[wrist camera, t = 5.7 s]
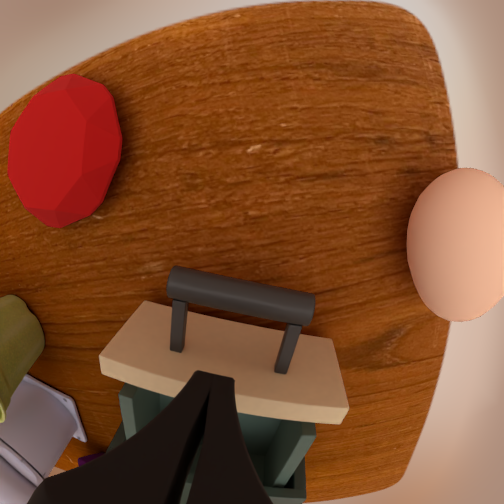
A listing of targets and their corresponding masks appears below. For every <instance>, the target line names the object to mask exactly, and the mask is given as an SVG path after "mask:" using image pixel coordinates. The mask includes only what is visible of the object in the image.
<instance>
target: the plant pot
mask: <svg viewBox="0 0 504 504" xmlns="http://www.w3.org/2000/svg"><path fill="white" fill-rule="evenodd" d="M44 345H45V339H44V334H43V331H42V328H41V325H40V323H39V321H38V319H37V318H36V316H34V315H33V314H32V313H31V312H30V311H29V310H28V308H27V306H26V303H25V302H24V301H23V300H22V299H20V298H19V297H17V296H15V295H6V296H4V297H1V298H0V423H3V422H4V421H5V420H6V410H7V408H8V406H9V404H10V402H11V397H12V395H13V393H14V392H15V390H16V389H17V387H18V386H19V384H20V383H21V381H22V380H23V378H24V377H25V375H26V374H27V372H28V371H29V369H30V368H31V366H32V365H33V364H34V362H35V361H36V360H37V358H38V357H39V355H40V354H41V353H42V351H43V349H44Z"/></svg>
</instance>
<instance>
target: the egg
mask: <svg viewBox="0 0 504 504" xmlns="http://www.w3.org/2000/svg"><path fill="white" fill-rule="evenodd" d="M407 260H408V264H409V268H410V271H411V275H412V279H413V282H414V285H415V287H416V289H417V291H418V293H419V296H420V298H421V299H422V300H423V302H424V303H425V305H426V306H427V307H428V308H429V309H430V310H431V311H433V312H434V313H435V314H436V315H437V316H439V317H441V318H444V319H446V320H448V321H458V322H463V321H470V320H473V319H475V318H478V317H481V316H482V315H483V314H485V313H486V312H487V311H489V310H490V309H491V308H492V307H494V306H495V305H496V304H497V303H498V302H499V301H500V299H501V298H502V297H503V296H504V186H503V185H502V184H501V183H500V182H499V181H497V179H495V178H494V177H493V176H491V175H490V174H488V173H486V172H483V171H481V170H477V169H473V168H458V169H455V170H452V171H449V172H447V173H444V174H442V175H441V176H439V177H438V178H436V179H435V180H434V181H433V182H432V183H430V184H429V185H428V187H427V188H426V189H425V190H424V191H423V192H422V193H421V194H420V196H419V198H418V200H417V202H416V204H415V206H414V208H413V210H412V213H411V215H410V219H409V224H408V229H407Z"/></svg>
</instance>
